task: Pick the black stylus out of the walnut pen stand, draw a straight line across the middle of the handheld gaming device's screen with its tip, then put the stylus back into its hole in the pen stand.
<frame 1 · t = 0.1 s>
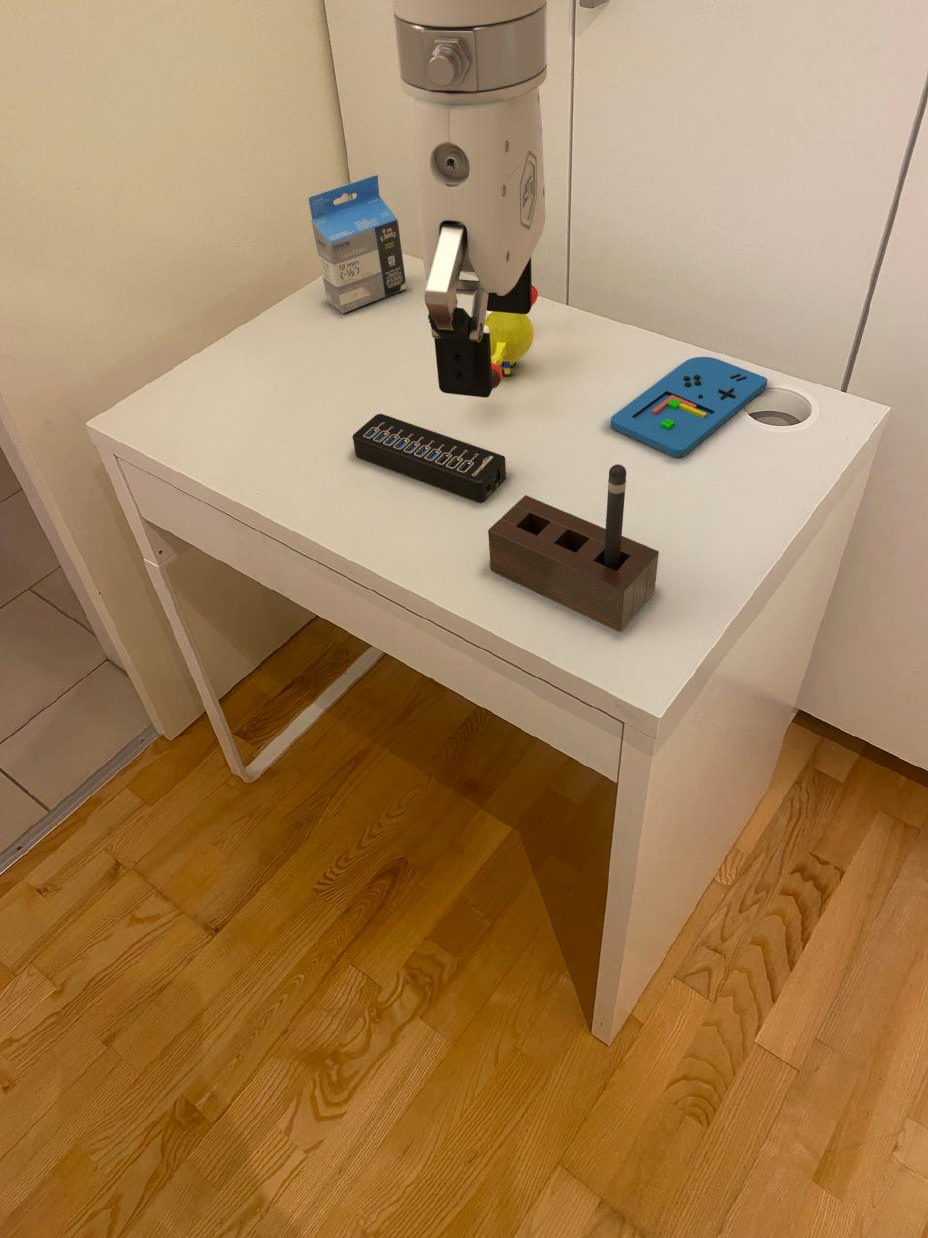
hand: (487, 349, 60), 22 cm above the table, tool pointing down, fingers open, 9 cm apart
label tape box: (367, 297, 112), on the table
handheld gaming device: (688, 407, 93), on the table
toy figure: (507, 371, 99), on the table
multiport hub: (429, 467, 89), on the table
stylus: (609, 599, 76), resting in pen stand
pen stand: (571, 581, 77), on the table
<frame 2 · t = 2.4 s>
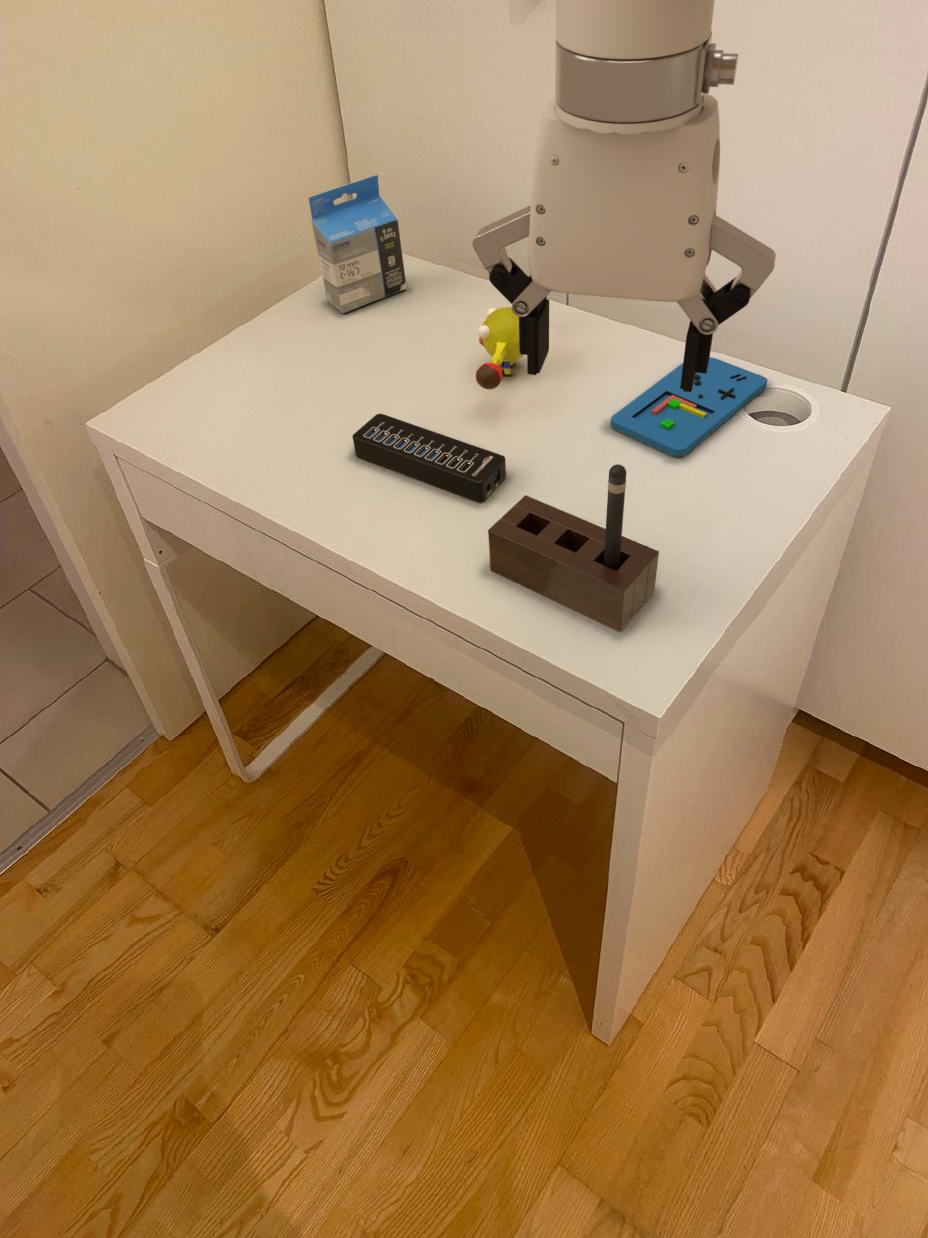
hand: (612, 371, 61), 21 cm above the table, tool pointing down, fingers open, 9 cm apart
nothing on the table moved.
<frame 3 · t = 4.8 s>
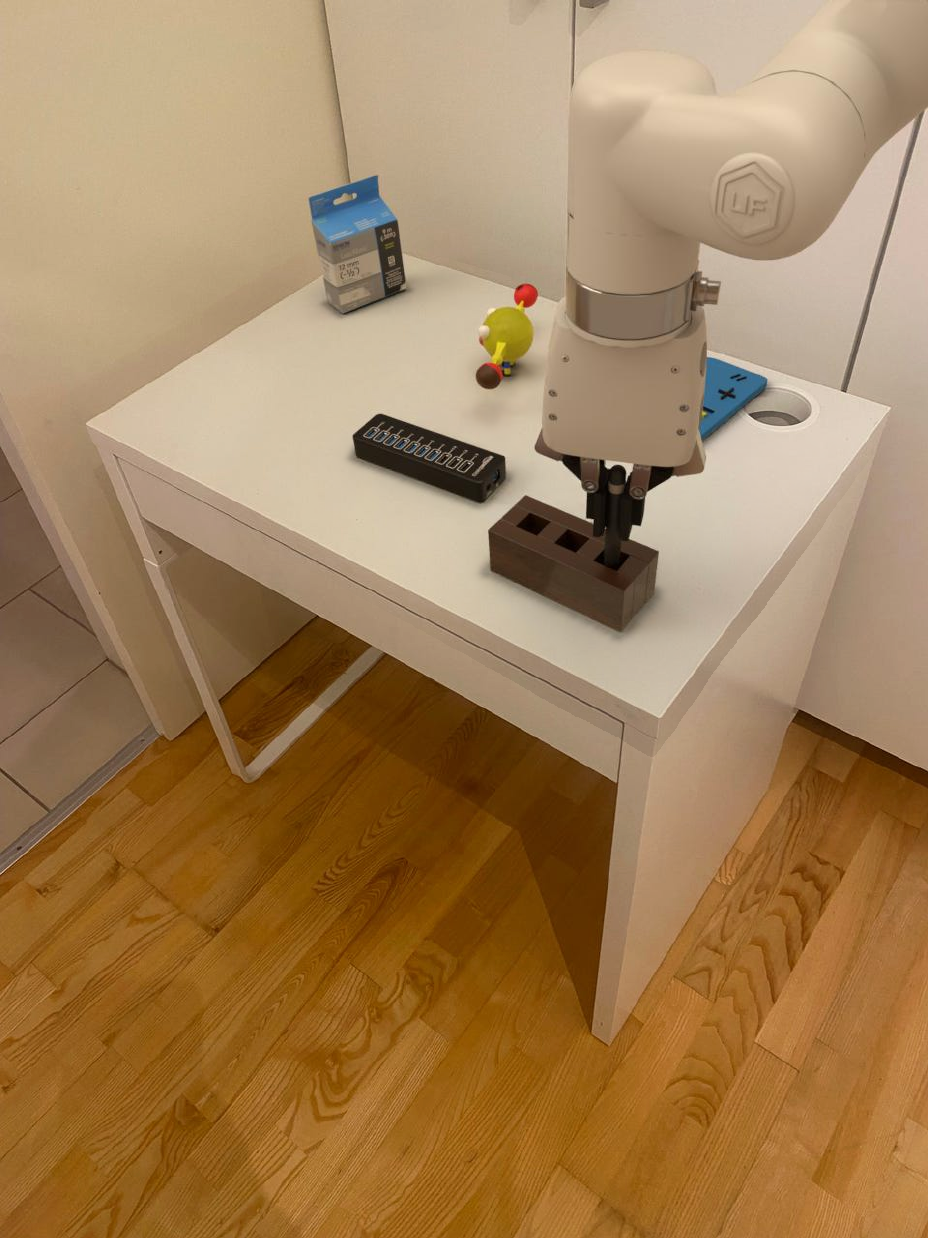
hand: (614, 525, 70), 8 cm above the table, tool pointing down, fingers closed on stylus, 1 cm apart
stylus: (609, 599, 76), resting in pen stand, touching gripper
everything else where it was.
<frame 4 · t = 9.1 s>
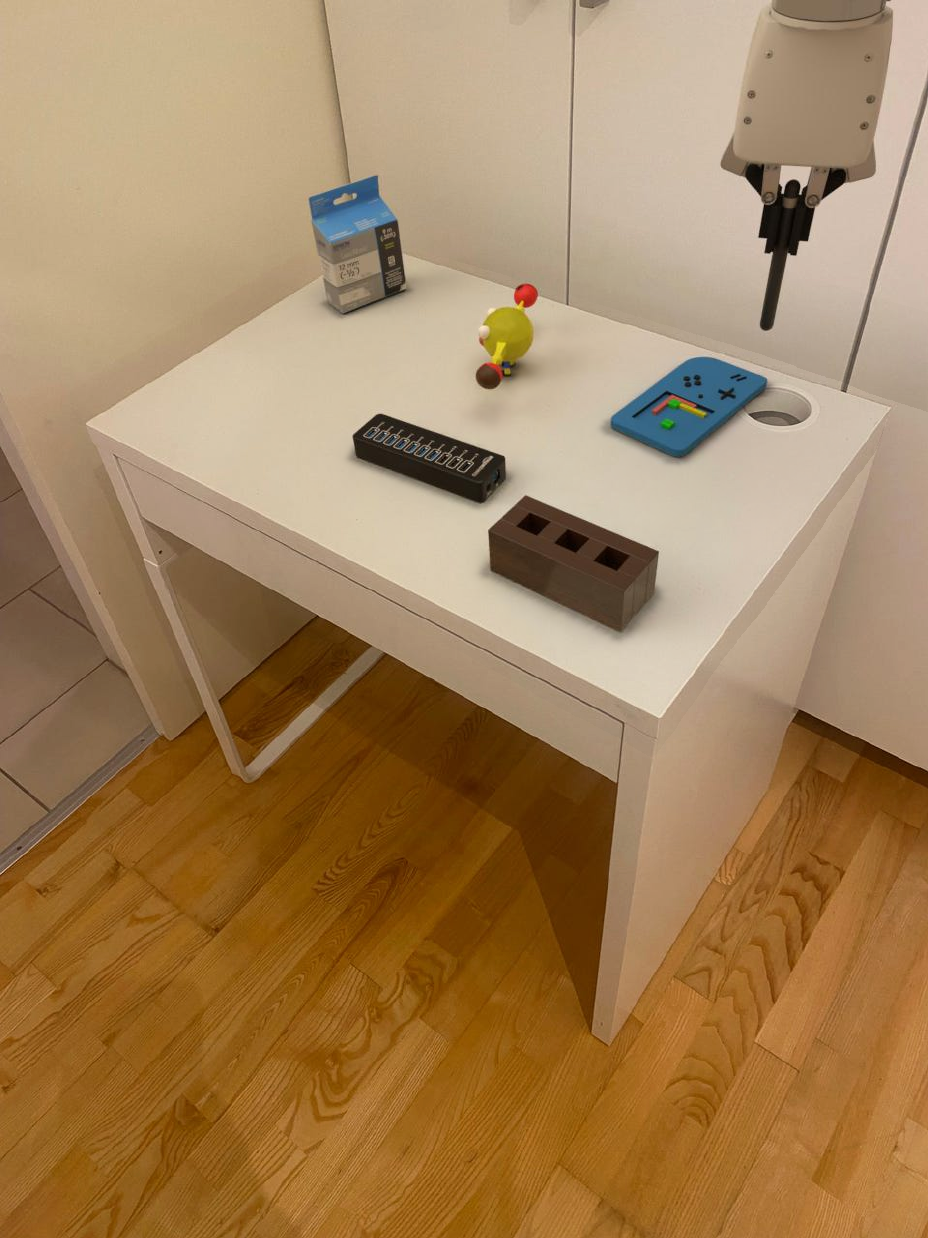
hand: (781, 245, 79), 17 cm above the table, tool pointing down, fingers closed on stylus, 1 cm apart
stylus: (765, 329, 85), point 9 cm above the table, touching gripper
everything else where it was.
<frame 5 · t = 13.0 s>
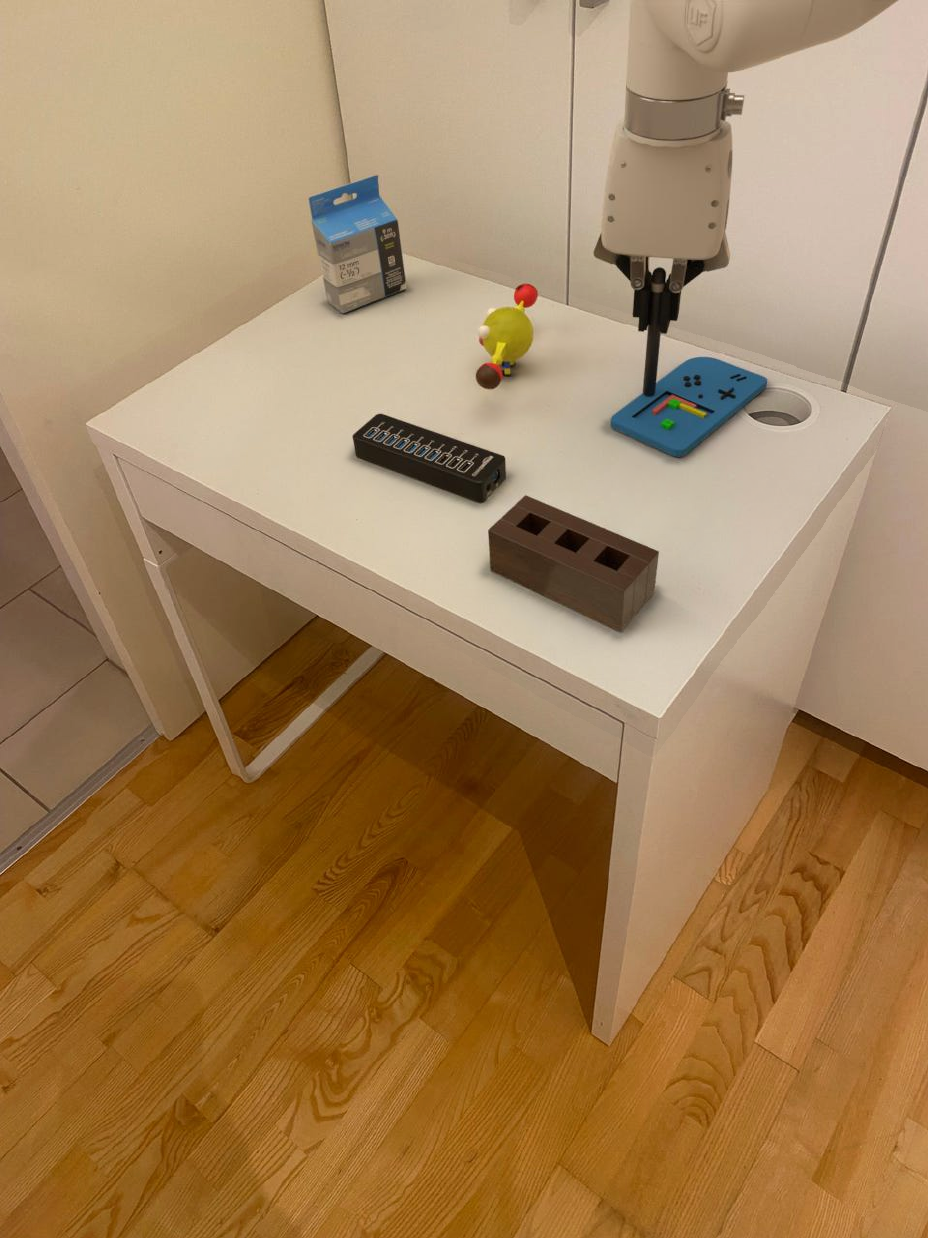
hand: (654, 323, 87), 8 cm above the table, tool pointing down, fingers closed on stylus, 1 cm apart
stylus: (648, 396, 93), point 1 cm above the table, touching gripper
everything else where it was.
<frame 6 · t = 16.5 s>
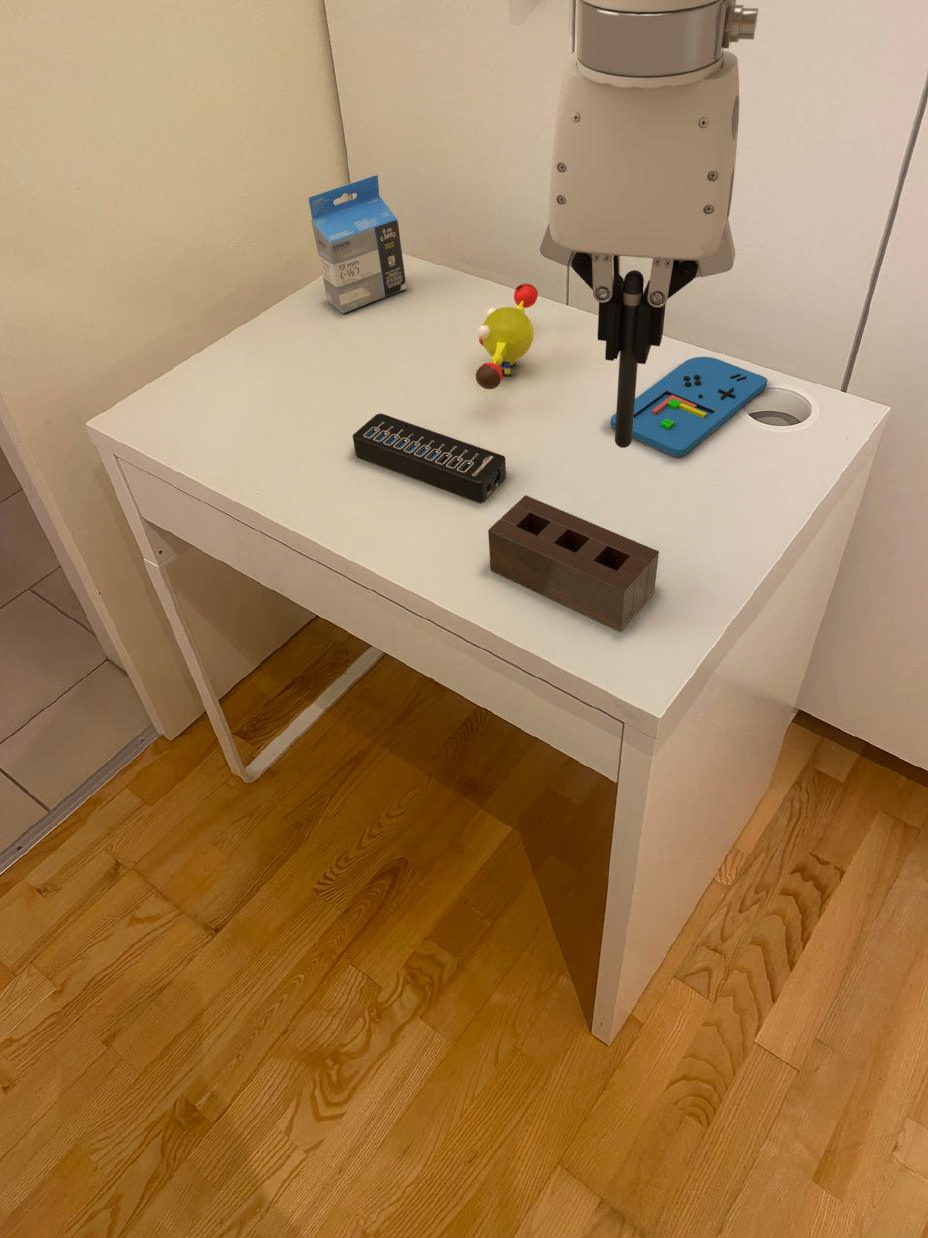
hand: (629, 349, 62), 21 cm above the table, tool pointing down, fingers closed on stylus, 1 cm apart
stylus: (622, 446, 68), point 13 cm above the table, touching gripper
everything else where it was.
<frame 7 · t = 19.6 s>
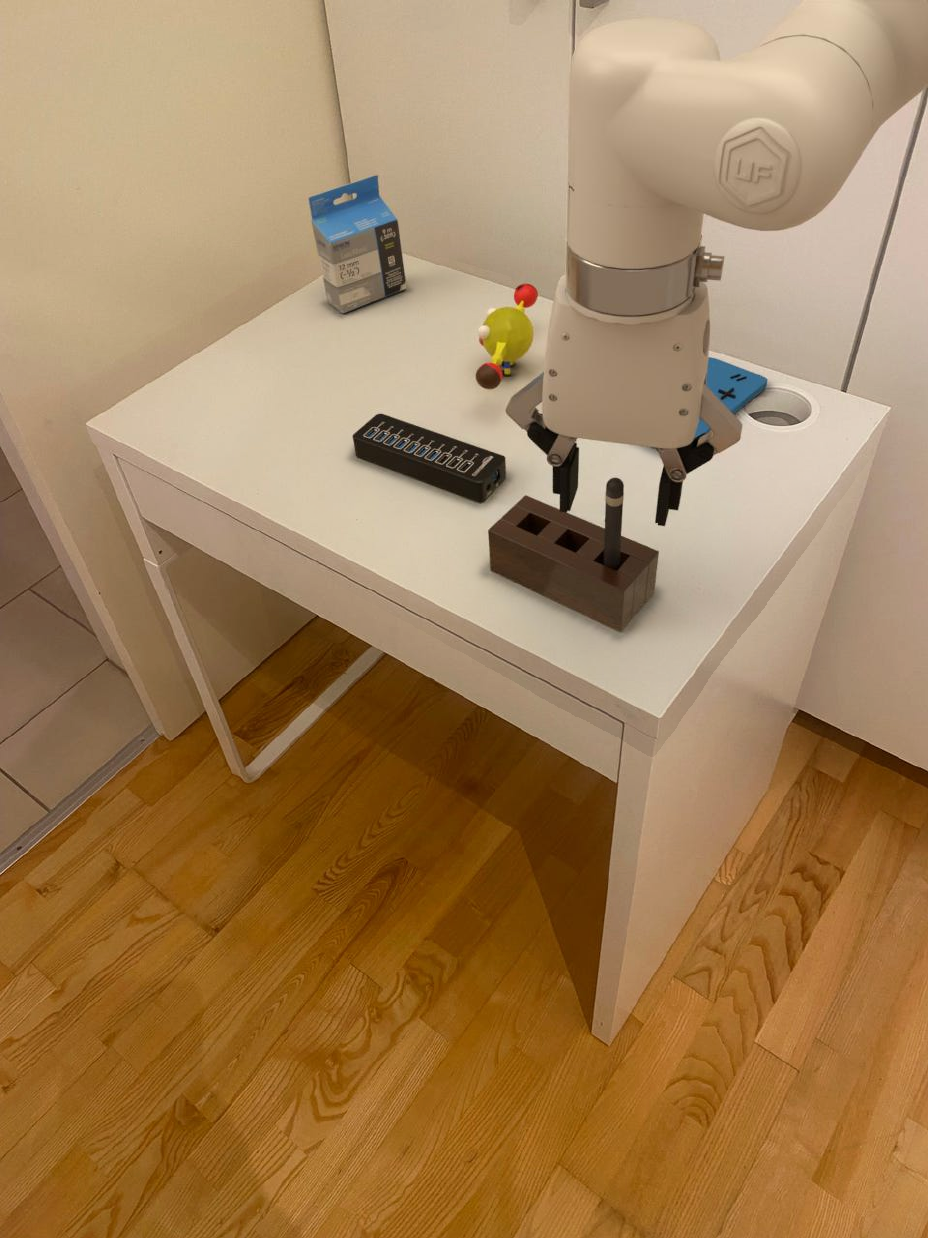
hand: (615, 504, 69), 10 cm above the table, tool pointing down, fingers open, 6 cm apart
stylus: (610, 598, 76), resting in pen stand, tilted 7°
everything else where it was.
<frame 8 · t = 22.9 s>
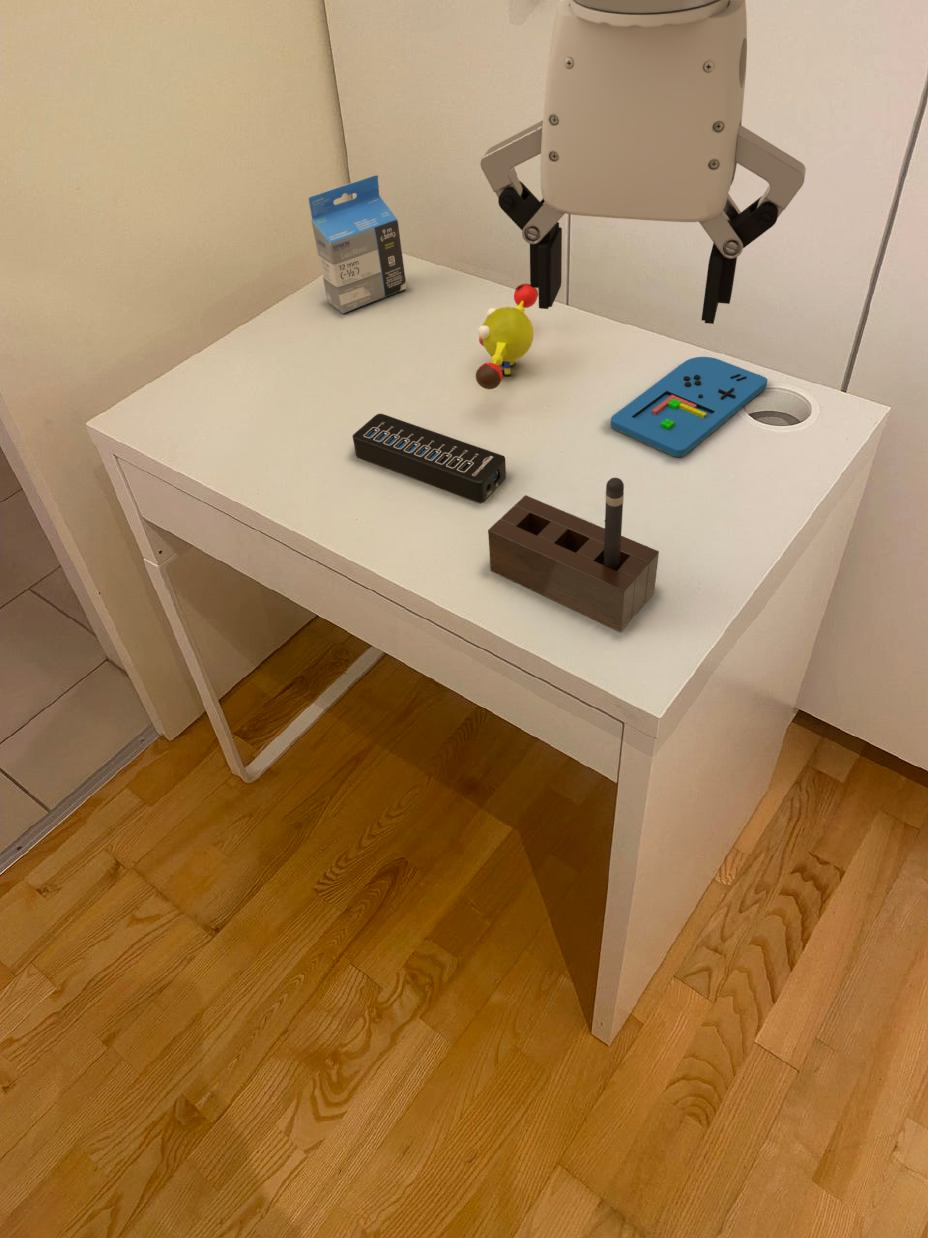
hand: (628, 304, 57), 25 cm above the table, tool pointing down, fingers open, 9 cm apart
nothing on the table moved.
at the end: stylus 0.1 cm from the target spot in the pen stand, point 0.0 cm above the pen stand's base; stylus tilted 7°; handheld gaming device moved 0.0 cm from its start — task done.
